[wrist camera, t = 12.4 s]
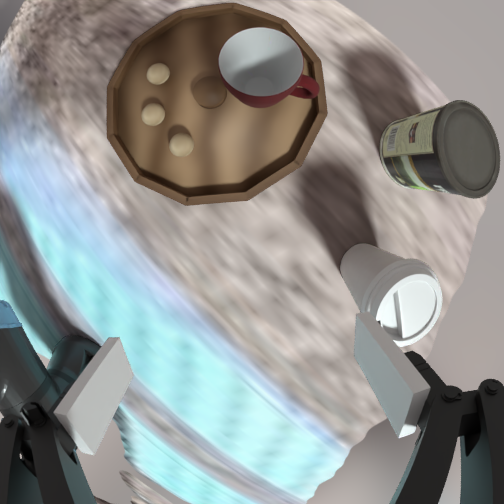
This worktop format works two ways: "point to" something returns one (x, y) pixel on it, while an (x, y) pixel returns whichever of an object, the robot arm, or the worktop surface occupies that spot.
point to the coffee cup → (393, 291)
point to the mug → (264, 68)
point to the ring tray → (207, 111)
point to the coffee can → (443, 151)
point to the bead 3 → (181, 144)
